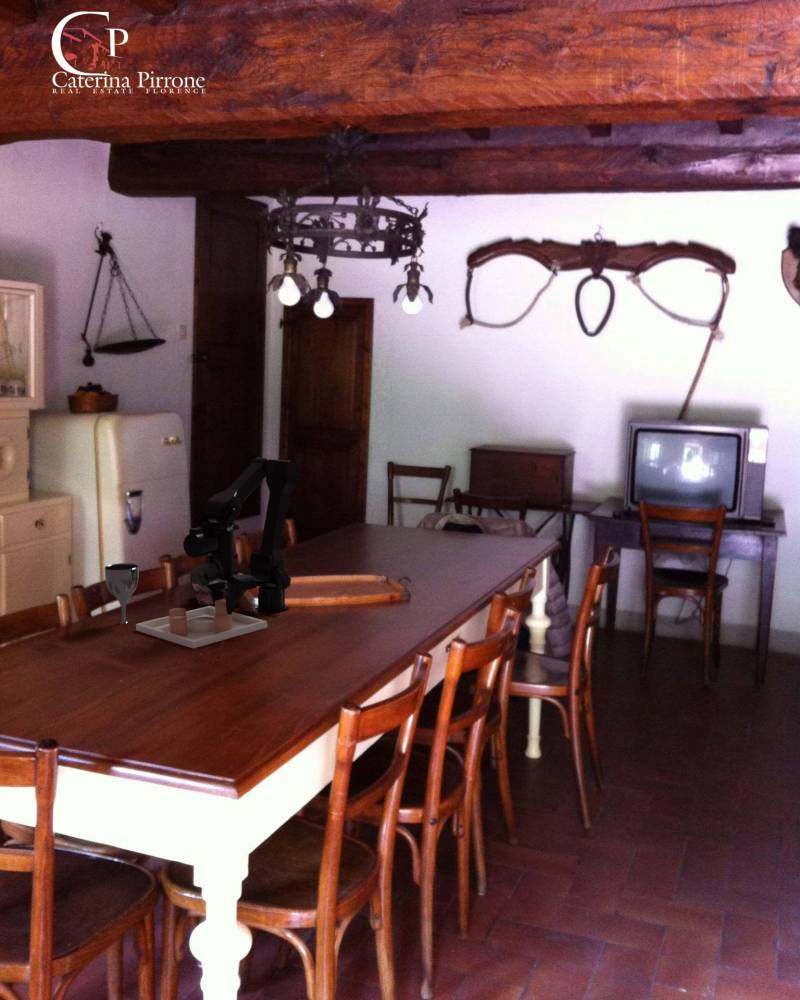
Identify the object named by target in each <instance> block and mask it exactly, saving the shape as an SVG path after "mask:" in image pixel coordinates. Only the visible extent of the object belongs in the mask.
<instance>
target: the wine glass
mask: <svg viewBox="0 0 800 1000" xmlns="http://www.w3.org/2000/svg"><path fill="white" fill-rule="evenodd" d="M139 568H140V567H139V565H138V564H136V563H134V562H133V563H132V562H130V563H129V562H123V563H112V564H108V565H106V566H105V567H104V577H105V584H106V587H107V589H108V591H109V592H110V594H111V595H113V597H115V598H116V600H118V603H119V605H120V608H121V616H122V618H121V621H120V624H122V625H123V624H125V625H126V624H128V623H129V621H127V620H126V619H127V618H126V617H127V615H126V610H127V603H128V601H129V599H130V598H131V597H132V596H133V594H134V592H135V591H136V589H137V588H138V583H139V575H140V574H139V572H140V571H139Z"/></svg>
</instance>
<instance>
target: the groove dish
mask: <svg viewBox="0 0 800 1000" xmlns="http://www.w3.org/2000/svg"><path fill="white" fill-rule="evenodd" d="M214 616H215V607H214V606H213V605H206V606H204V607H199V608H196V609H191V610H188V611H187V610H186V617H187V631H188V635H187V636H184V637H183V636H179V635H176V634H173V633H170V622H169V615H168V616H167V615H166V616H163V617H159V618H154V619H150V620H147V621H143V622H138V623H136V624H135V630H136V631H137V632H140V633H143V634H147V635H149V636H152V637H156V638H159V639H162V640H165V641H169V642H172V643H175V644H178V645H181V646H184V647H188V648H191V649H196V648H199V647H204V646H207V645H210V644H211V645H212V644H215V643H217V642H221V641H225V640H228V639H232V638H235V637H238V636H243V635H246V634H249V633H253V632H257V631H259V630H264V629H267V628H268V620H264V619H260V618H257V617H253V616H249V615H245V614H241V613H238V612H235V611H233V612H232V630H228V631H225V632H221V633H217V634H215V620H214Z"/></svg>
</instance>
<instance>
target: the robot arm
mask: <svg viewBox="0 0 800 1000" xmlns="http://www.w3.org/2000/svg"><path fill="white" fill-rule="evenodd" d="M300 474H301V469H300V467H299V465H298V463H297V462H296V461H295V460H289V459H288V460H287V459H271V458H269V457H255V458H253V459H252V460H251V461H250V464H249V465H248V466H247V468H245V470H244V471H243V472H242V473H241V474H240V475H239V476H238V477H237V478H236V479H234V481H233V483H231V484H230V485H229V487H228V488H226V489H225V490H224V491H220V492H218V493H215V494H214V495H212V497H210V498H208V499H207V500H206V501H205V502H204V507H203V509H202V512H201V514H200V516H199V518H198V520H197V523H196V526H195V527H196V528H195V527H192V528H189V530H188V531H189V532H188V533H189V534H187V535H186V536H185V537H184V540H183V543H182V546H183V550H184V553H185V554H186V555H187V556H188V557H190V558H192V559H196V558H199V557H203V556H205V562H204V563H201V564H198V566H196V567H195V568H192V570H190V571H189V575H190V577H189V578H190V579H189V580H190V581H192V584H195V585H196V584H197V585H200V586H203V587H204V588H206V589H207V590H208V592H209V594H210V596H211V598H212V601H213V604H214V606H213V607H215V601H216V600H220V599H223V596H224V594H225V599H226V609H227V614H229V615H230V614H232V612H234V610H235V607H236V606H237V602H238V600H239V597H240V595H241V593H242V592H243V591H245V590H247V591H249V590H252V589H256V588H257V587H258V594H257V606H256V607H255V608H254V610H256V611H260V612H264V613H267V614H275V613H279V612H282V611H283V612H284V611H286V610H289V609H290V607H289V606H287V605H286V593H285V590H287V589H288V588H290V586H291V581H292V578H291V577H290V575H289V574H288V573H287V572H286V571H285V570H284V569H285V567H284V566H285V561H284V558H283V555H282V552H281V545H282V540H283V532H284V528H285V527H284V525H285V521H286V514H287V508H288V502H289V497H290V495H291V494H292V493H293V491H294V489H296V487H297V485H298V482H299V477H300ZM264 479H265V484H266V486H267V488H268V492H269V496H268V501H267V506H266V512H265V519H264V524H263V531H262V537H261V542H260V547H259V548H258V549H257V551H256V552H254V551H253V552H251V554H250V561H249V564H248V567H247V568H248V569H249V574H244V573H243V575H239V576H235V577H234V575H238V573H239V570H238V569H235V559H238V558H239V553H236V552H235V545H234V543H235V542H234V531H238V530H240V526H239V525H238V524H236V523H235V521H236V519H237V518H238V516H239V515H240V513H241V512H242V507H243V505H242V504H243V503H244V502H245V501H246V499H247V498H248V497H249V496H250V495H251V494H252V492H253V491H254V490H255V489H256V488H257V487H258V486H259V485H260V484H261V483H262V482H263V480H264ZM225 583H227V588H225Z"/></svg>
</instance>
